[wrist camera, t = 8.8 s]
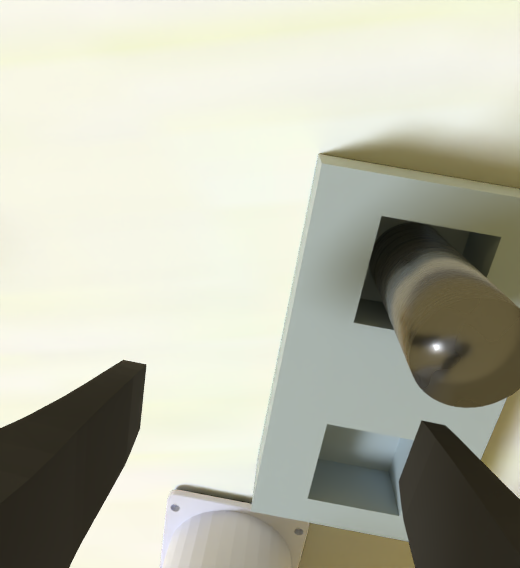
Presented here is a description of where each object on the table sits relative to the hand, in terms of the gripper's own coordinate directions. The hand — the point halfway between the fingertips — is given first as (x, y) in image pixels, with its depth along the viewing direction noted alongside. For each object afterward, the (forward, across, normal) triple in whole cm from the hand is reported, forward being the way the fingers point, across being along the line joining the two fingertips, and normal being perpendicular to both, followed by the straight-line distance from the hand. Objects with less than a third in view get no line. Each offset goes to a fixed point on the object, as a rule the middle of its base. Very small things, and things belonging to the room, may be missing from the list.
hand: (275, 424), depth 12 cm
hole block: (+10, -5, +2) cm, 11 cm away
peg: (+9, -5, -3) cm, 10 cm away
